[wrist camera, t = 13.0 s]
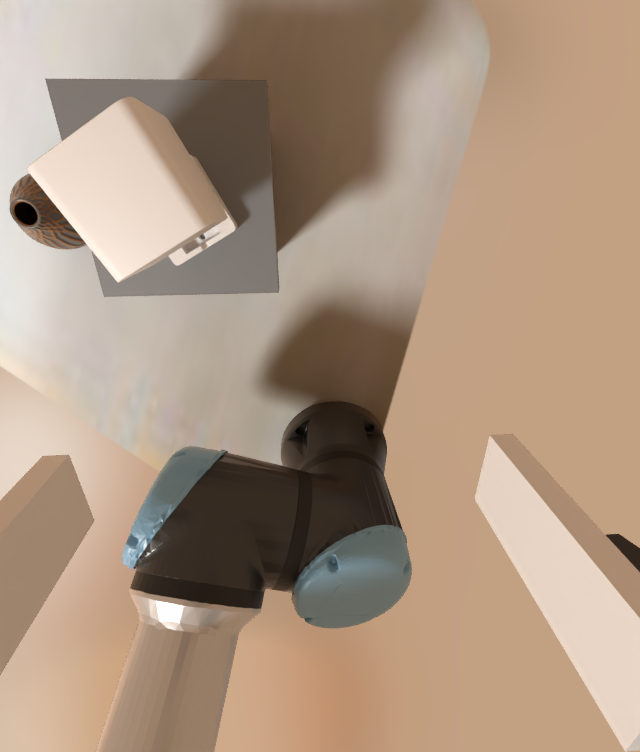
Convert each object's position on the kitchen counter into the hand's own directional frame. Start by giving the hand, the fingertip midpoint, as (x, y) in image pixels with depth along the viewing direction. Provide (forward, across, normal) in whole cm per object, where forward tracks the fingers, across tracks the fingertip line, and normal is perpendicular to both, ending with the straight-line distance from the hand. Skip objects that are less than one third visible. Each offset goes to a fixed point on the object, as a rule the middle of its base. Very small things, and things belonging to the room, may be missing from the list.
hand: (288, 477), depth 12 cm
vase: (+35, +22, -7) cm, 42 cm away
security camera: (+21, +8, -8) cm, 24 cm away
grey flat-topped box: (+35, +8, -8) cm, 36 cm away
